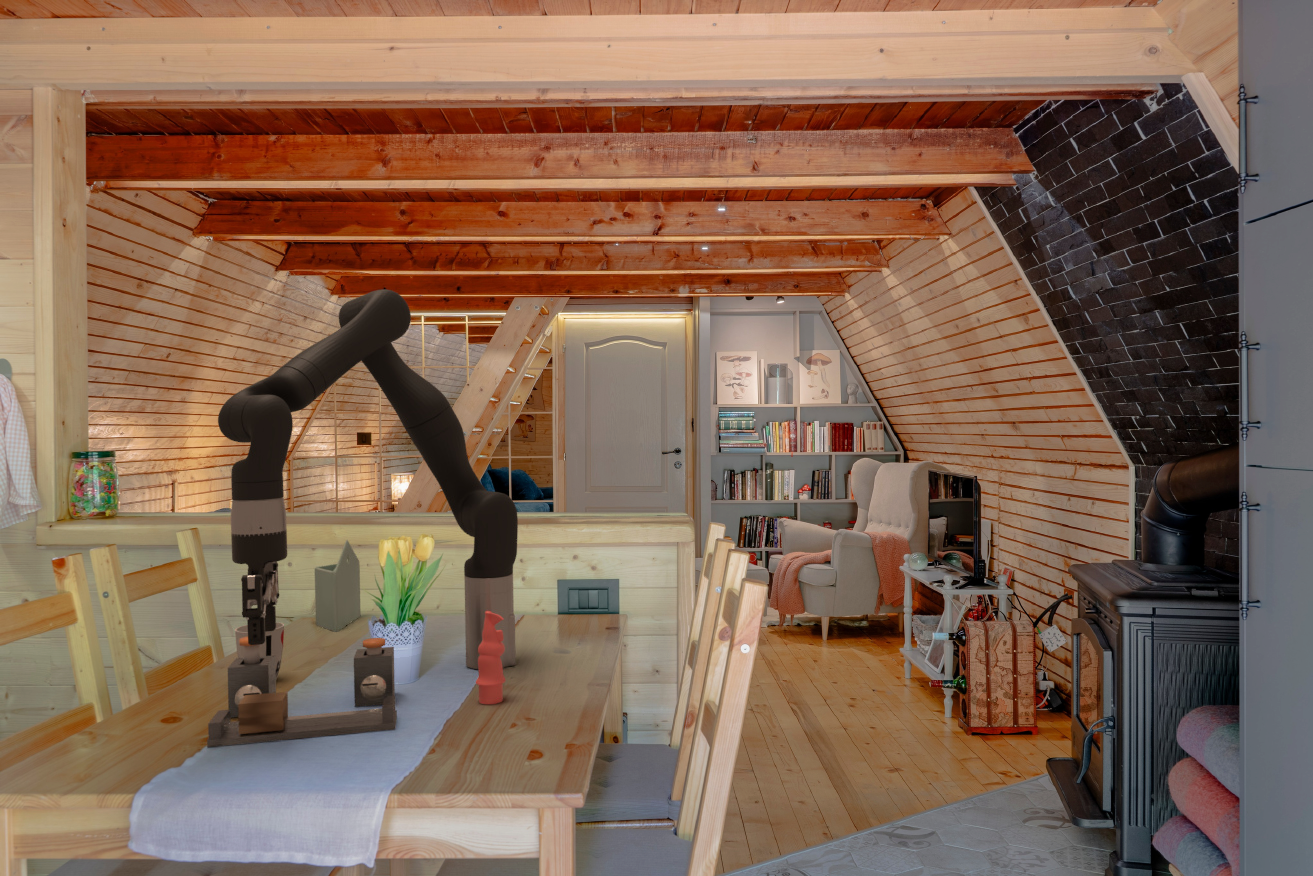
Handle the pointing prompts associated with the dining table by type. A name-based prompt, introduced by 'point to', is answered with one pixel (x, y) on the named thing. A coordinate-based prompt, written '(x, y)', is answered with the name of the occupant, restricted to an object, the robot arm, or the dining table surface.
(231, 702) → the cabinet
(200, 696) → the dining table surface
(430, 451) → the robot arm
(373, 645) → the plunger
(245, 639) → the plunger
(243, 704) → the carriage
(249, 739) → the rail
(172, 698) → the dining table surface
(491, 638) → the figurine
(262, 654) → the cup
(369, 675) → the cabinet
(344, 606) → the planter
